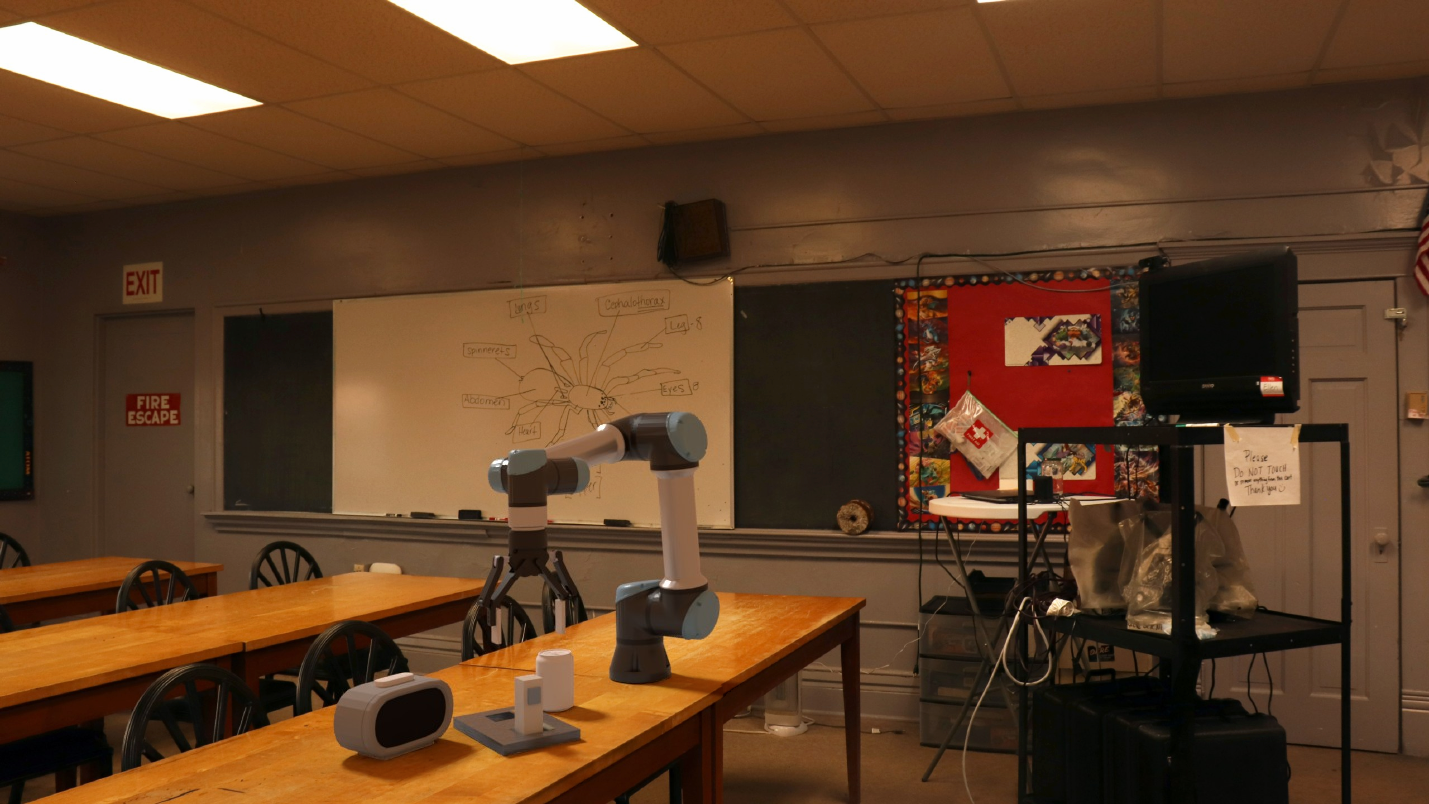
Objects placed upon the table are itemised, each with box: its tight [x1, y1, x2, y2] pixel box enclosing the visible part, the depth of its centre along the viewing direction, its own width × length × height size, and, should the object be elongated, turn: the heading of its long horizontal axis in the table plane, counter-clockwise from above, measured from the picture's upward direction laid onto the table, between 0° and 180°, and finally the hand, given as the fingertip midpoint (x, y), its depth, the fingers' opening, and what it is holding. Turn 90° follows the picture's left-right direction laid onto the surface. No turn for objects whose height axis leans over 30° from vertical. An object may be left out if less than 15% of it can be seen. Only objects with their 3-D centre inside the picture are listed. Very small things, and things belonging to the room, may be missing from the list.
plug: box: [514, 673, 544, 736], centre depth 191 cm, size 4×5×12 cm
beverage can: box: [535, 648, 575, 713], centre depth 214 cm, size 8×8×12 cm
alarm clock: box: [333, 672, 454, 762], centre depth 187 cm, size 21×10×13 cm, turn 148°
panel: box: [452, 705, 582, 757], centre depth 195 cm, size 16×24×2 cm, turn 37°
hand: (529, 638), depth 192 cm, fingers open, 13 cm apart
